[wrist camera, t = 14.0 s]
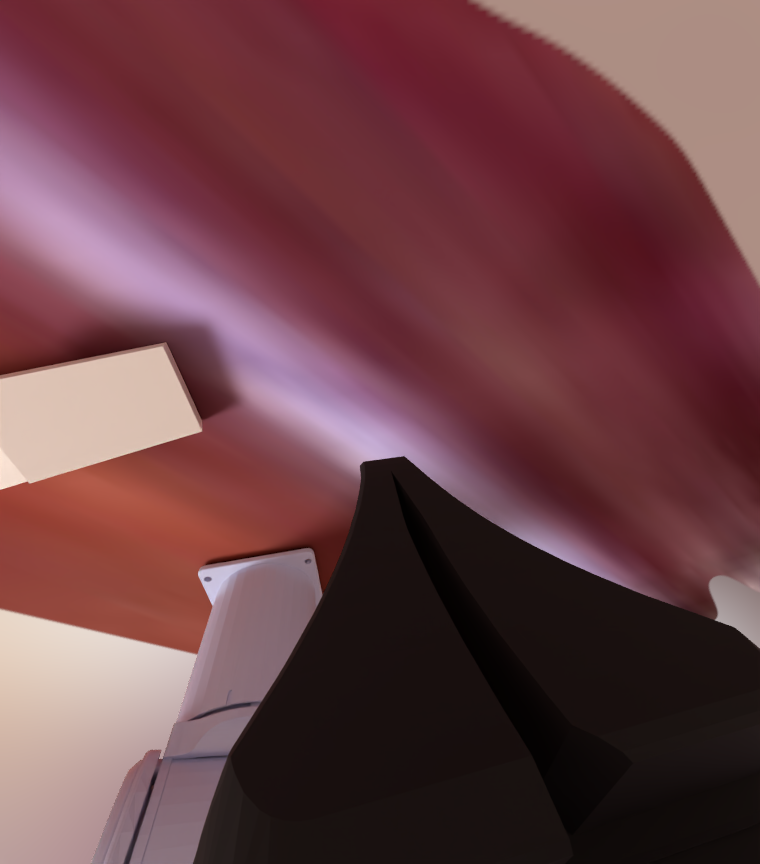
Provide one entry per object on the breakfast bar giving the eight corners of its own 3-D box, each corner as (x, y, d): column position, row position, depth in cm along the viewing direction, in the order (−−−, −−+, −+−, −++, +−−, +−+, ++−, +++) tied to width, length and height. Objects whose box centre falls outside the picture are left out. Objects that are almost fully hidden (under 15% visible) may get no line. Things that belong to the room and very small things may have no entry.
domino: (202, 431, 16) (29, 483, 14) (202, 421, 17) (45, 467, 15) (162, 346, 14) (-49, 389, 11) (166, 342, 15) (-23, 380, 13)
